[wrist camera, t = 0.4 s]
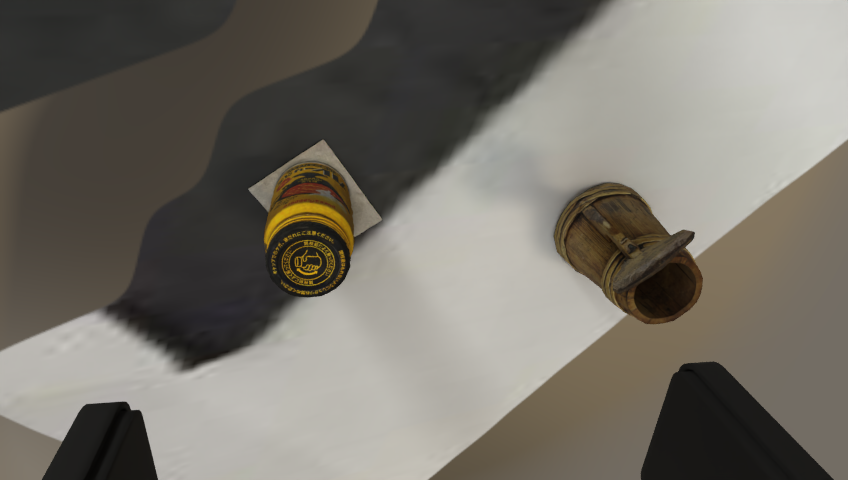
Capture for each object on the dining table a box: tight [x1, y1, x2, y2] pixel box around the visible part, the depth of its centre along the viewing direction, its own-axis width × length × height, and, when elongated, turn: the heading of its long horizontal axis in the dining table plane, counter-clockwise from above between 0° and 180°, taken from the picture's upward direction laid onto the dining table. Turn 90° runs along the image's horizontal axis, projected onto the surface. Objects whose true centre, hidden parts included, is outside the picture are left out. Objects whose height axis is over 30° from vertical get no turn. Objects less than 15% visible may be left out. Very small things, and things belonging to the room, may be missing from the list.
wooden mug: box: [554, 183, 703, 324], centre depth 42 cm, size 9×14×18 cm, turn 40°
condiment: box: [248, 140, 382, 297], centre depth 40 cm, size 7×8×12 cm
